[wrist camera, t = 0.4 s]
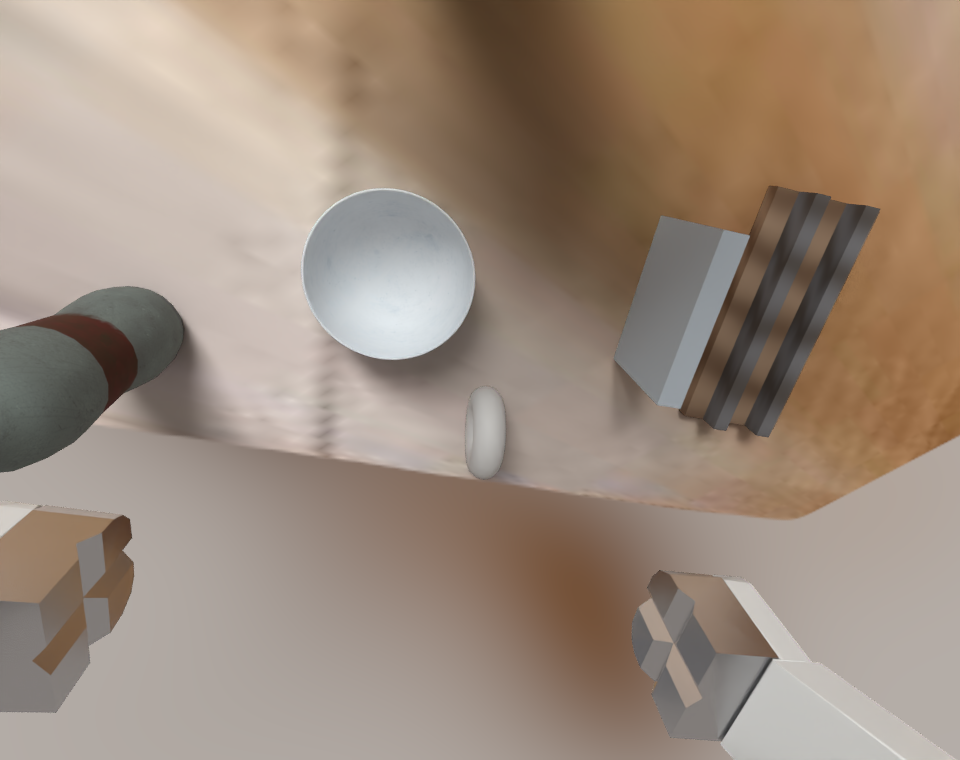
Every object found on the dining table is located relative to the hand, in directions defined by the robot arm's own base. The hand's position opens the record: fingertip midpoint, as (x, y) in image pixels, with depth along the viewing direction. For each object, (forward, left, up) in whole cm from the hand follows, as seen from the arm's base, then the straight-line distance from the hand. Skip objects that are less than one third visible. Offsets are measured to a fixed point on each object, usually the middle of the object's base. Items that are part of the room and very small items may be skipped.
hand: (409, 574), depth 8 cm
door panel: (+2, +25, -46) cm, 52 cm away
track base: (+2, +40, -46) cm, 60 cm away
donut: (+19, +10, -46) cm, 51 cm away
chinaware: (+4, -2, -46) cm, 46 cm away
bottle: (+15, -26, -46) cm, 55 cm away
